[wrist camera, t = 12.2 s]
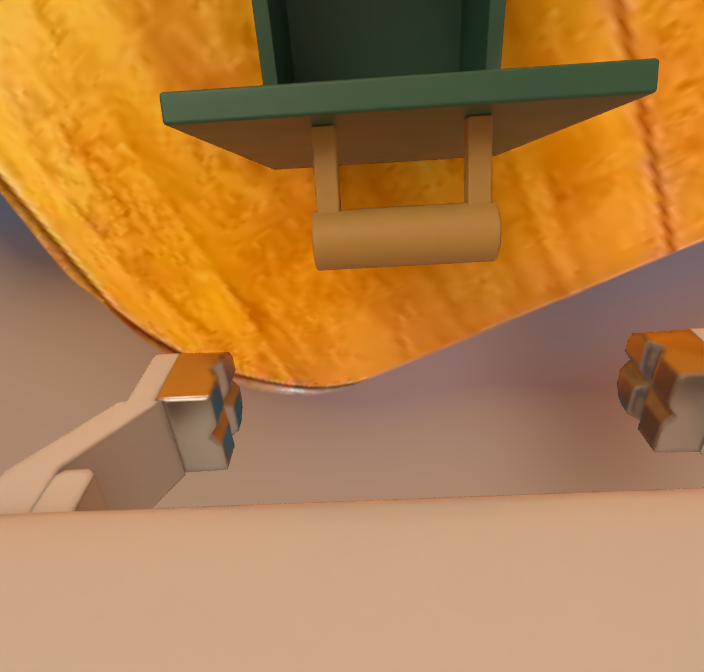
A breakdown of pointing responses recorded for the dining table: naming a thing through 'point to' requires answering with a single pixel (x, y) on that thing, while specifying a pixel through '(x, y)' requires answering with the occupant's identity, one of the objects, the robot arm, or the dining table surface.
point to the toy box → (375, 38)
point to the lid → (405, 144)
